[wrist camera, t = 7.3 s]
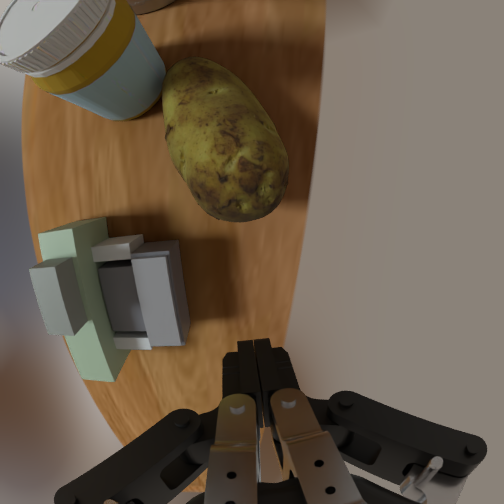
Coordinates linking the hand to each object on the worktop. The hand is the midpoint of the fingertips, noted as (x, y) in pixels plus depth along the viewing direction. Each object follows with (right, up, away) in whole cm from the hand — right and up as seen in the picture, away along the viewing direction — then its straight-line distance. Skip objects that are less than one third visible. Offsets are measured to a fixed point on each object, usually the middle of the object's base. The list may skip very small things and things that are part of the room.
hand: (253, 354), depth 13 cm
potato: (-2, +14, +9) cm, 17 cm away
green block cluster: (-12, +2, +11) cm, 16 cm away
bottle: (-11, +19, +7) cm, 23 cm away
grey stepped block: (-9, +2, +11) cm, 14 cm away
